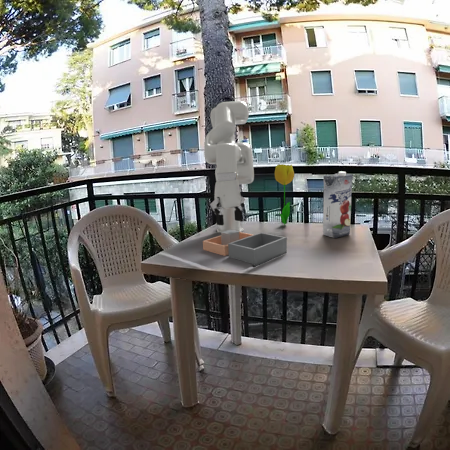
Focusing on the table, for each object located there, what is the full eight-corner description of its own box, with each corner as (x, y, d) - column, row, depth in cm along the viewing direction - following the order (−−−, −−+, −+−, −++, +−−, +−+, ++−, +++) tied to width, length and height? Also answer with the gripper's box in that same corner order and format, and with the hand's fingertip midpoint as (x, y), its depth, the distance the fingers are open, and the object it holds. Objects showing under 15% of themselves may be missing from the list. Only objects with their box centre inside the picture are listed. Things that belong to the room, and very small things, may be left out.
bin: (229, 259, 114) (228, 243, 112) (261, 247, 126) (260, 232, 124) (254, 267, 105) (254, 249, 104) (286, 253, 117) (286, 237, 116)
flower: (282, 228, 152) (282, 164, 145) (272, 225, 159) (271, 164, 152) (297, 225, 156) (297, 163, 149) (286, 222, 163) (286, 163, 156)
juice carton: (319, 235, 138) (320, 172, 132) (336, 231, 143) (338, 170, 136) (335, 239, 130) (337, 172, 124) (353, 235, 135) (356, 170, 129)
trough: (203, 252, 123) (202, 240, 122) (235, 241, 136) (235, 230, 134) (225, 258, 115) (224, 246, 114) (257, 246, 127) (257, 235, 126)
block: (221, 247, 125) (220, 232, 124) (230, 244, 128) (229, 229, 127) (230, 249, 122) (230, 234, 120) (239, 246, 125) (239, 231, 124)
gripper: (236, 175, 127) (237, 218, 130) (202, 179, 115) (205, 225, 119) (250, 175, 122) (251, 220, 125) (217, 179, 110) (219, 228, 113)
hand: (229, 222), depth 122 cm, fingers open, 9 cm apart
